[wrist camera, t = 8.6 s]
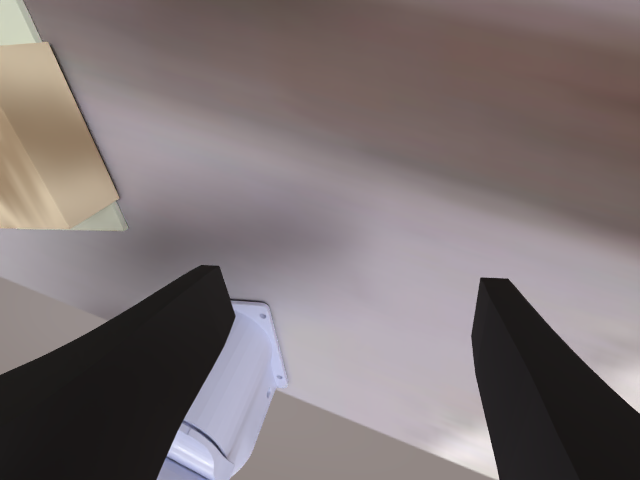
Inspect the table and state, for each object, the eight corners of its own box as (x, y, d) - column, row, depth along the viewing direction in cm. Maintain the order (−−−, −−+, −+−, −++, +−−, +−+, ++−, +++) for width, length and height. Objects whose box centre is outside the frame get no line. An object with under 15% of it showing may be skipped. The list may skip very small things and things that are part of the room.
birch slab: (70, 229, 20) (-37, 227, 22) (119, 198, 23) (22, 199, 25) (-33, 47, 15) (-157, 68, 17) (47, 41, 18) (-65, 60, 20)
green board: (128, 228, 25) (124, 231, 24) (22, 226, 27) (17, 229, 27) (16, -14, 17) (9, -15, 17) (-115, 14, 20) (-124, 14, 20)
